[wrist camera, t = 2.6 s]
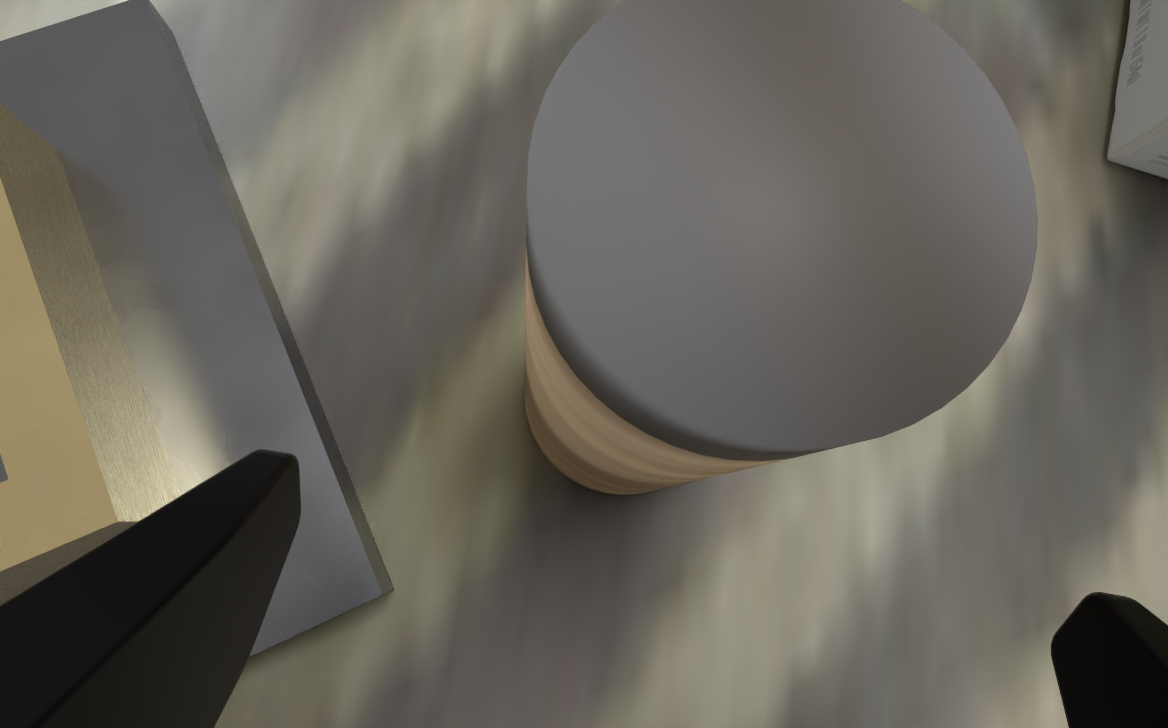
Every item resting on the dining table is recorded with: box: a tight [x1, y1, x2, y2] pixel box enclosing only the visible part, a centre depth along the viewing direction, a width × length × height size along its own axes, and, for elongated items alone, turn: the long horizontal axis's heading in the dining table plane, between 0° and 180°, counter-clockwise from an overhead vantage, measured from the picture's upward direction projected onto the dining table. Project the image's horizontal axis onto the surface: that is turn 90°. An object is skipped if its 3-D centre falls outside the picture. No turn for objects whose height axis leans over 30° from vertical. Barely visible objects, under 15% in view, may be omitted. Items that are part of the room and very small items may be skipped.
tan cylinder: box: [525, 0, 1037, 495], centre depth 13 cm, size 5×5×12 cm
